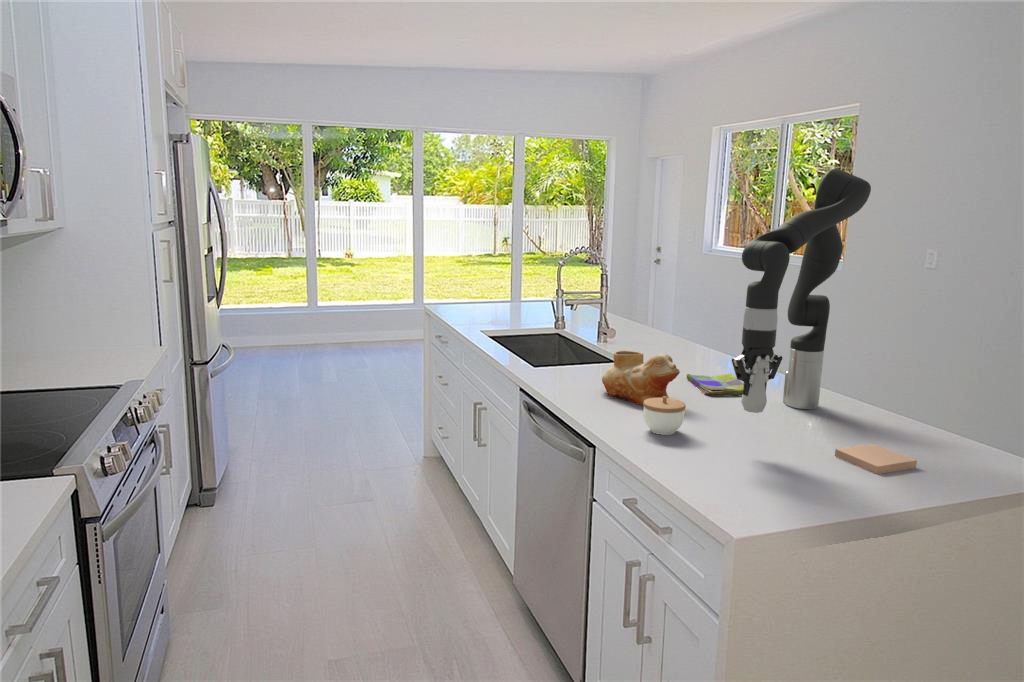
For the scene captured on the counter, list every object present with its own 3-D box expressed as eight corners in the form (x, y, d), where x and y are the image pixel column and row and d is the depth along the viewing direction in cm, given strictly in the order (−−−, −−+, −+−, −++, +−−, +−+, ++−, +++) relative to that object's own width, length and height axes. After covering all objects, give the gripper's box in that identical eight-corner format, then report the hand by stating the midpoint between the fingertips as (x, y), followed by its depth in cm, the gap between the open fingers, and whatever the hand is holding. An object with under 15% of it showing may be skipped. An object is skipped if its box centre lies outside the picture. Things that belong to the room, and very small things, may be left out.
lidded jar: (653, 439, 179) (655, 403, 177) (635, 426, 189) (636, 392, 187) (691, 436, 182) (693, 401, 180) (671, 424, 192) (673, 390, 190)
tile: (835, 449, 168) (877, 466, 157) (873, 443, 173) (916, 460, 162) (834, 458, 169) (876, 476, 158) (872, 452, 173) (915, 469, 162)
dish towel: (734, 379, 245) (734, 372, 245) (761, 398, 221) (762, 390, 221) (684, 379, 244) (684, 371, 244) (706, 398, 220) (706, 389, 220)
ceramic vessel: (658, 411, 203) (661, 360, 201) (592, 392, 223) (593, 345, 220) (687, 403, 212) (691, 354, 209) (621, 386, 232) (623, 341, 229)
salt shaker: (749, 414, 167) (754, 360, 165) (735, 407, 172) (739, 355, 170) (771, 412, 169) (775, 359, 166) (756, 406, 174) (760, 354, 172)
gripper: (771, 322, 173) (766, 391, 176) (725, 325, 168) (720, 396, 171) (794, 327, 166) (788, 398, 169) (746, 330, 161) (741, 404, 164)
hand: (754, 397), depth 170 cm, fingers closed on salt shaker, 3 cm apart
